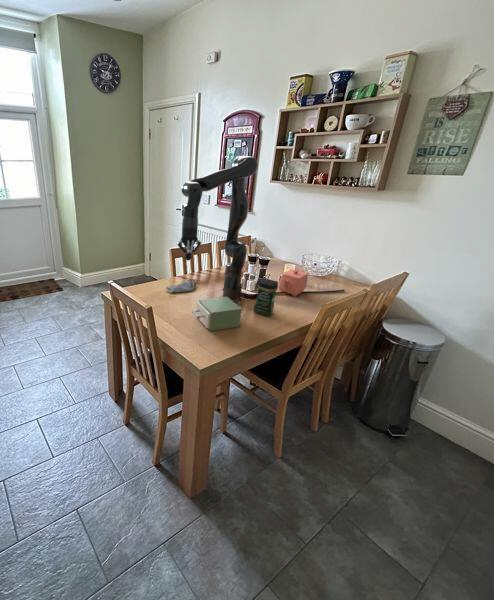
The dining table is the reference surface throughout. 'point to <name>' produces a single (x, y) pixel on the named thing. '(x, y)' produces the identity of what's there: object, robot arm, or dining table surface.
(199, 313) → the drawer
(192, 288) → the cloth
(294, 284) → the pink knobbed cube
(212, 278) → the dining table surface
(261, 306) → the coffee jar
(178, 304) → the dining table surface
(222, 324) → the cabinet
